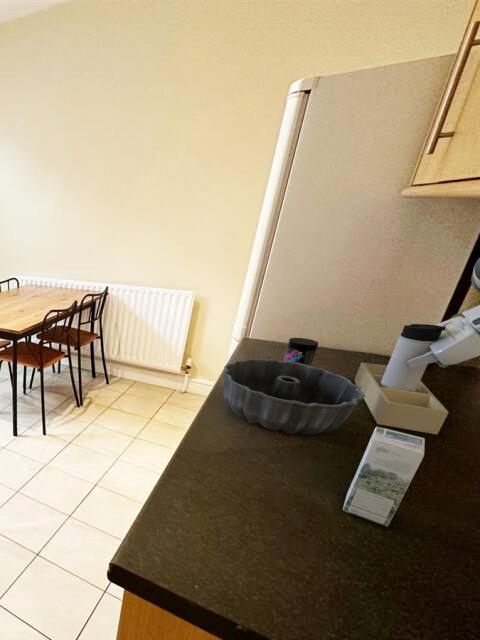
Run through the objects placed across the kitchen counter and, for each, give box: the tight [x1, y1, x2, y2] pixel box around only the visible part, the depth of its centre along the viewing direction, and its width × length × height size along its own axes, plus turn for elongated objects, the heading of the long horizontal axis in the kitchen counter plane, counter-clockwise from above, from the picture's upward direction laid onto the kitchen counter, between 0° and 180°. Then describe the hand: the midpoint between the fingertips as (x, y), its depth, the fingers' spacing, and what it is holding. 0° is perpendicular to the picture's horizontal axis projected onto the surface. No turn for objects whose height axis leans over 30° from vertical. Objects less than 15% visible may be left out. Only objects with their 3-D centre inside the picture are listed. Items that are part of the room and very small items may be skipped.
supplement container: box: [282, 337, 319, 367], centre depth 119 cm, size 7×7×10 cm
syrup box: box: [342, 426, 426, 528], centre depth 66 cm, size 6×6×14 cm
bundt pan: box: [222, 358, 365, 436], centre depth 97 cm, size 26×26×10 cm
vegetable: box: [435, 300, 479, 369], centre depth 120 cm, size 4×4×20 cm
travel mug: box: [379, 323, 446, 392], centre depth 98 cm, size 6×7×20 cm
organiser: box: [354, 362, 449, 435], centre depth 102 cm, size 10×28×6 cm, turn 148°
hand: (406, 358), depth 99 cm, fingers open, 8 cm apart
